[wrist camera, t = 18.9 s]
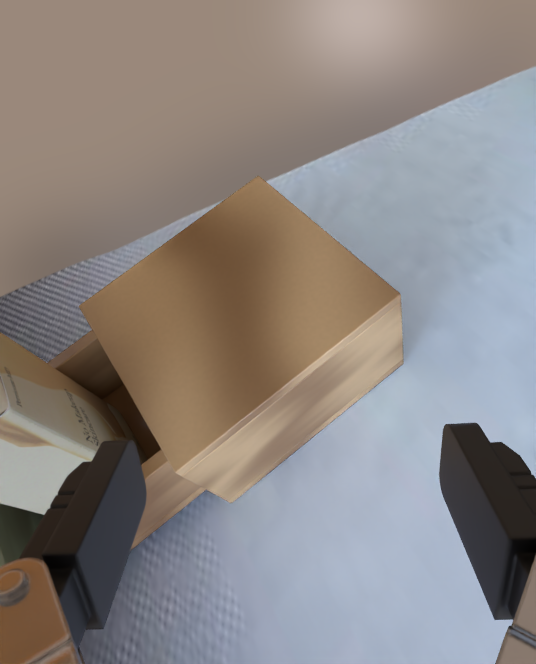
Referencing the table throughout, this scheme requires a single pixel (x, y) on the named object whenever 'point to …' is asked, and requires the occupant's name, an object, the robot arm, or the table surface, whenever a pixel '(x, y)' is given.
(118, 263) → the table surface
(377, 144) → the table surface
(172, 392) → the cabinet
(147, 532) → the drawer
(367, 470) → the table surface
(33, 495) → the cosmetic box
